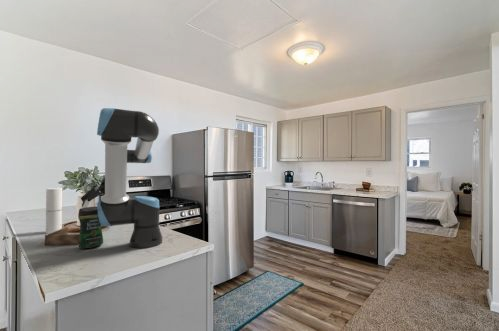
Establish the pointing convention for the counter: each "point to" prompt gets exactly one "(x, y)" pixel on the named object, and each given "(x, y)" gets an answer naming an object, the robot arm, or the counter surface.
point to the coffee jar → (89, 228)
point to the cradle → (62, 238)
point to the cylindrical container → (53, 210)
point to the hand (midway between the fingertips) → (97, 212)
